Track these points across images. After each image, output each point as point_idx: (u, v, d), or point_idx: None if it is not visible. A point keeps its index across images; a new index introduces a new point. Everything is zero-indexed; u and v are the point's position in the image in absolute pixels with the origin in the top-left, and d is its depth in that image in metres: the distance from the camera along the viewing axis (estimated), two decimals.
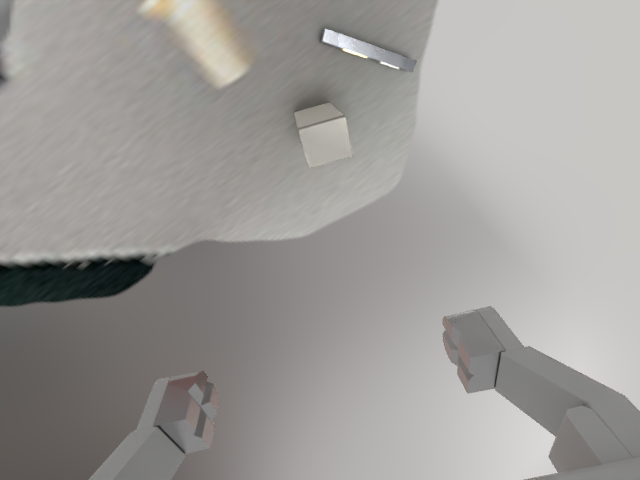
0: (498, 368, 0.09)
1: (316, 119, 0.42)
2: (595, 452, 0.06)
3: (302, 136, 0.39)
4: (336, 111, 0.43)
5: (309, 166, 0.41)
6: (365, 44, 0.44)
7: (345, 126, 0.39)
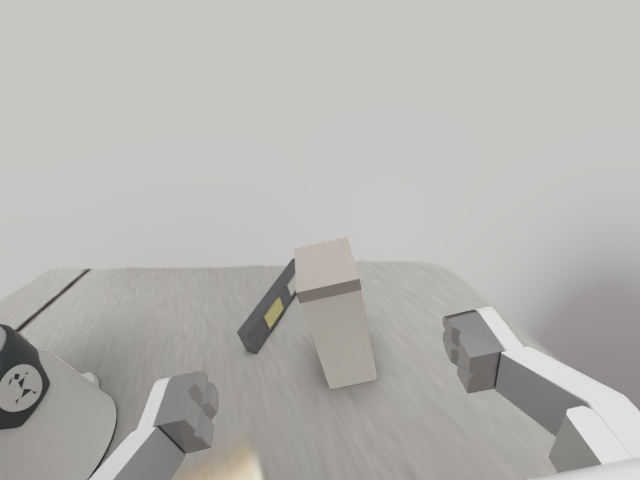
0: (498, 368, 0.09)
1: None
2: (595, 452, 0.06)
3: (306, 286, 0.25)
4: None
5: (355, 277, 0.25)
6: (265, 296, 0.41)
7: (306, 247, 0.30)
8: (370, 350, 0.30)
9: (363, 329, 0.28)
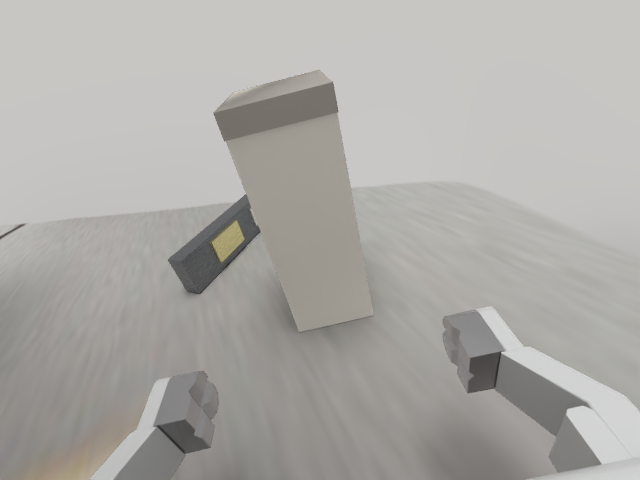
0: (498, 368, 0.09)
1: None
2: (595, 452, 0.06)
3: (234, 105, 0.13)
4: None
5: (325, 82, 0.13)
6: (216, 220, 0.29)
7: (252, 87, 0.18)
8: (360, 256, 0.18)
9: (345, 209, 0.16)
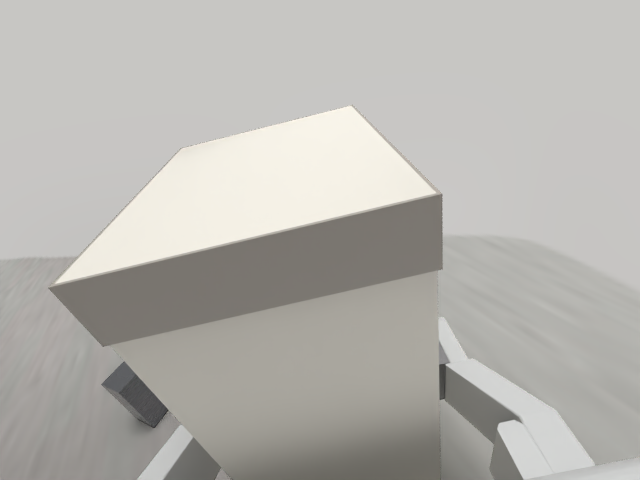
0: (445, 379, 0.09)
1: None
2: (520, 467, 0.06)
3: (125, 254, 0.04)
4: None
5: (414, 191, 0.04)
6: None
7: (217, 140, 0.09)
8: None
9: (420, 432, 0.07)
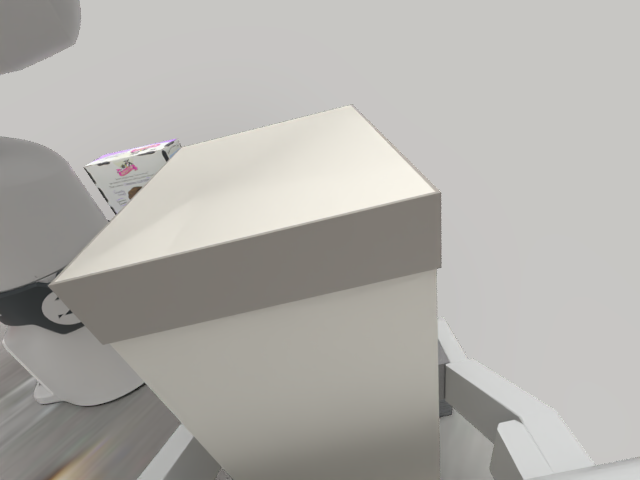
0: (445, 379, 0.09)
1: None
2: (519, 467, 0.06)
3: (124, 252, 0.04)
4: None
5: (413, 190, 0.04)
6: None
7: (217, 140, 0.09)
8: None
9: (419, 431, 0.07)
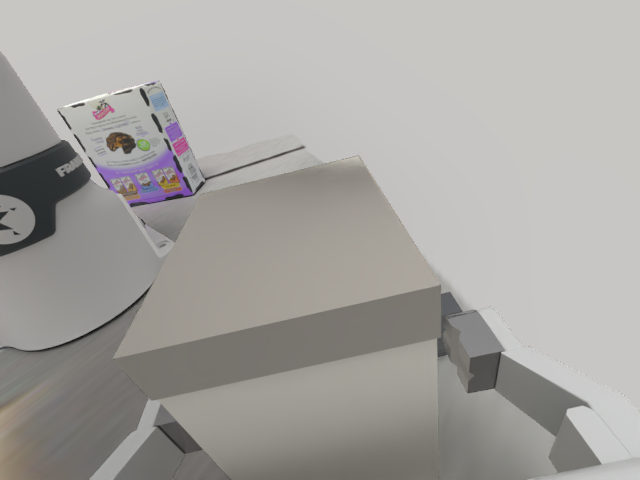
0: (498, 368, 0.09)
1: None
2: (595, 452, 0.06)
3: (173, 326, 0.05)
4: None
5: (417, 280, 0.05)
6: None
7: (235, 188, 0.10)
8: None
9: (421, 461, 0.08)
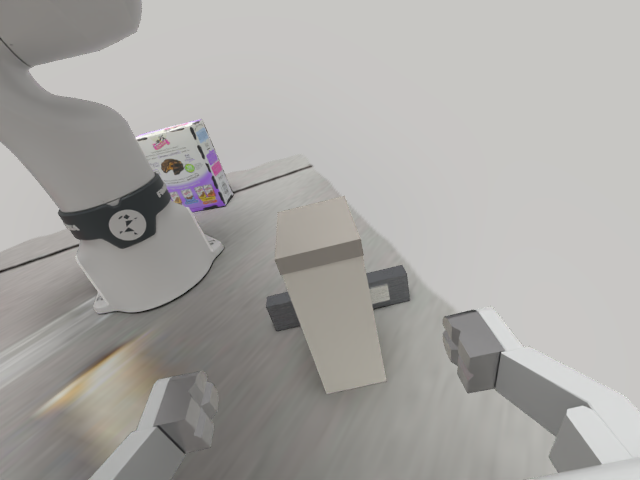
0: (498, 368, 0.09)
1: None
2: (595, 452, 0.06)
3: (288, 252, 0.19)
4: None
5: (355, 238, 0.18)
6: None
7: (292, 210, 0.23)
8: (377, 342, 0.23)
9: (366, 312, 0.21)
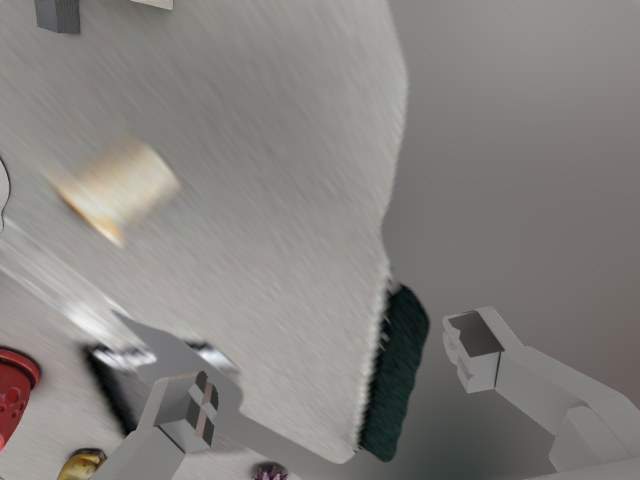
0: (498, 368, 0.09)
1: None
2: (595, 452, 0.06)
3: None
4: None
5: None
6: None
7: None
8: None
9: None
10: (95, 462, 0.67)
